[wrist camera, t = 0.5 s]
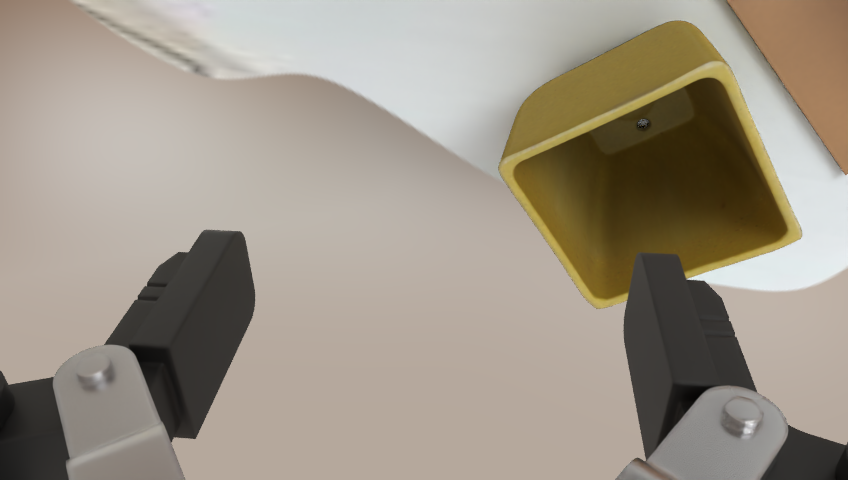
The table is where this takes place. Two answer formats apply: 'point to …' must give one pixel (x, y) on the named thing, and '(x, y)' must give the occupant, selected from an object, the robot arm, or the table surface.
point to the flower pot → (646, 164)
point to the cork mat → (807, 59)
